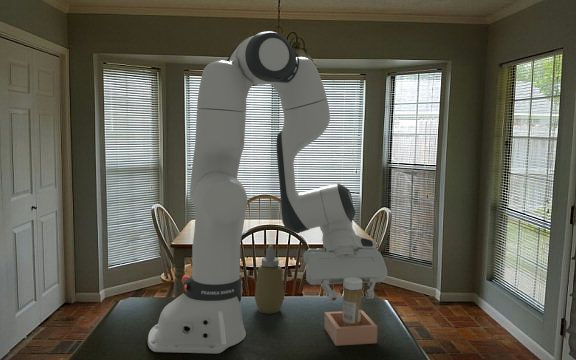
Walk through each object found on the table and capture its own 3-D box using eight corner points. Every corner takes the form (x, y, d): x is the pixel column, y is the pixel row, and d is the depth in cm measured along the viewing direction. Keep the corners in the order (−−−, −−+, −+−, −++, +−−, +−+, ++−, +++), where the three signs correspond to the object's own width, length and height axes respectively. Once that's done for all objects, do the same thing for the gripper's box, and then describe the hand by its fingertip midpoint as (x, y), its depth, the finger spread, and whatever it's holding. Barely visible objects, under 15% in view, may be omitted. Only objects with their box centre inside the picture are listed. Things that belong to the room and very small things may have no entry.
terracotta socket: (335, 345, 107) (336, 328, 107) (324, 327, 117) (324, 312, 116) (376, 343, 109) (377, 326, 109) (362, 325, 119) (362, 310, 118)
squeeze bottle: (248, 309, 128) (249, 244, 126) (271, 302, 133) (272, 240, 131) (266, 318, 122) (268, 251, 120) (289, 311, 127) (291, 246, 125)
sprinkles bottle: (364, 334, 113) (366, 280, 111) (350, 338, 110) (352, 283, 109) (351, 327, 116) (353, 275, 115) (337, 331, 114) (339, 278, 112)
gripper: (304, 242, 116) (312, 294, 107) (381, 241, 119) (395, 290, 111) (299, 255, 120) (307, 306, 112) (374, 253, 124) (387, 302, 116)
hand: (352, 298), depth 111 cm, fingers open, 8 cm apart
